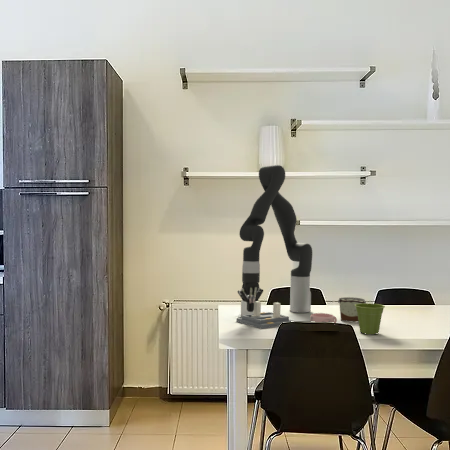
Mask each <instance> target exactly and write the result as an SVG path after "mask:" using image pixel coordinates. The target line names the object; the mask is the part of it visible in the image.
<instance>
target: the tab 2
mask: <svg viewBox="0 0 450 450" xmlns="http://www.w3.org/2000/svg"><path fill="white" fill-rule="evenodd" d="M272 305H273V307H272V313H273V317H271V318H278V317H280V315H281V302H273V303H272Z"/></svg>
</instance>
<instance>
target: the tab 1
mask: <svg viewBox="0 0 450 450" xmlns="http://www.w3.org/2000/svg"><path fill="white" fill-rule="evenodd" d="M261 304H262V302H261V301H259V300H258V301H256V302H254V315H251V317H254V316H262V315H261V313H262V311H261V309H262V308H261V307H262V305H261Z"/></svg>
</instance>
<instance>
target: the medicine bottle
mask: <svg viewBox="0 0 450 450" xmlns="http://www.w3.org/2000/svg"><path fill="white" fill-rule="evenodd" d="M244 294H245V293H244ZM249 314H254V310H253V312H248V311H247V302H244V301H243V300H242V299H241V300H240V316H241V315H249Z"/></svg>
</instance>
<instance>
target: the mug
mask: <svg viewBox="0 0 450 450" xmlns="http://www.w3.org/2000/svg"><path fill="white" fill-rule="evenodd" d="M309 318H310V319H309V322H310V321H315V322H334V323H336V324H337V323H338V319H337V317H336V316H334V315H333V314H332V313H323V312H320V313H319V312H318V313H316V312H315V313H311V314H310V317H309Z"/></svg>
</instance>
